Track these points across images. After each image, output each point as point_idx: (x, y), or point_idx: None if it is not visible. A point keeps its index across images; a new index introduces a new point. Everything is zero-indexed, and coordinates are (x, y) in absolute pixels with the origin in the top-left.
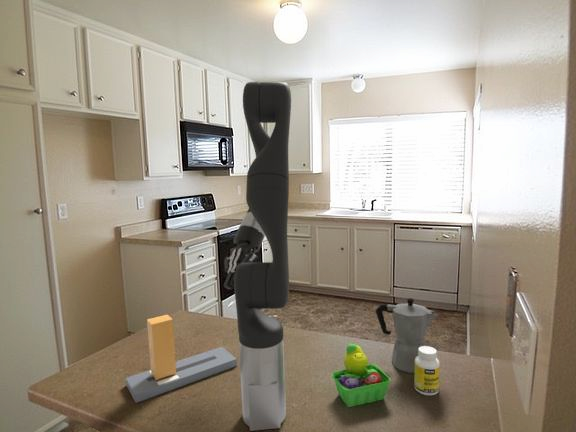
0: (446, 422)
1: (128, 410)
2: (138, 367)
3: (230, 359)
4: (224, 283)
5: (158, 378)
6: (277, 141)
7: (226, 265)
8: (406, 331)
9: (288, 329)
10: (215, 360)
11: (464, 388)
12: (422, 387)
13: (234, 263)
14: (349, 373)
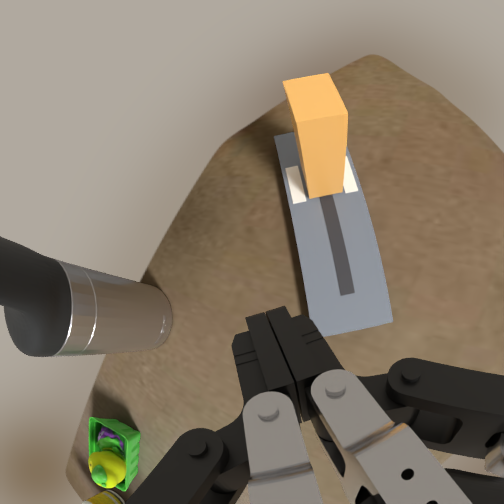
0: (74, 460)
1: (262, 137)
2: (395, 151)
3: (317, 324)
4: (283, 313)
5: (301, 166)
6: None
7: (464, 392)
8: None
9: None
10: (331, 289)
11: None
12: (103, 492)
13: (287, 471)
14: (103, 446)
